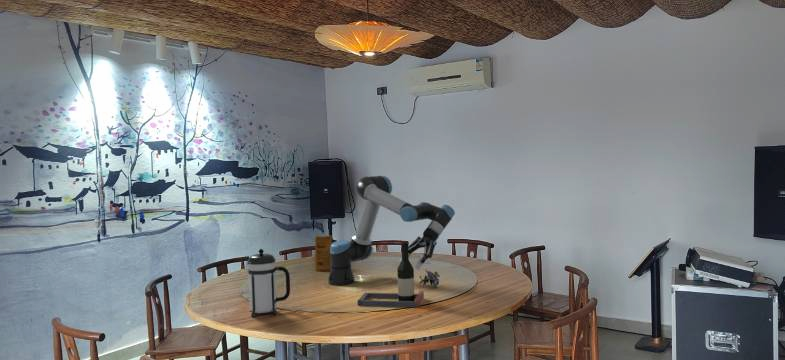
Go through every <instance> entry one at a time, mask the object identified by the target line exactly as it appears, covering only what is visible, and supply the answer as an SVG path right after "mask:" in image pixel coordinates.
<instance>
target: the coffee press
mask: <svg viewBox="0 0 785 360" xmlns="http://www.w3.org/2000/svg"><path fill="white" fill-rule="evenodd" d="M264 252H265V251H264V249H263V248H260V249H259V250H258V253H256V254H253V255H250V256H249V257H248V259H247V260H246V263H245V265H244V267H243V268H247V274H248V292H249V293H248V294H249V297H248V298H249V311H250V312H251V314H250V316H251V317H252V318H256V316H257V314H265V313H267V314H268V313H270V314H272V316H275V315H277V313H278V312H277V310H276V308H277V302H283V301H285V300H287V299H288V298H289V296H290V294H291V282H290V281H291V277H290V272H289V270H288V269H287V268H286V267H285V266H276V262H277V261H276V258H275V255H273V254H270V253H264ZM277 271H281V272H283V273H284V275H285V288H286V289H285V294H284V295H283V296H279V297H277V290H276V289H277V288H276V286H277V284H276V272H277Z"/></svg>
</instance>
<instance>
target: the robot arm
mask: <svg viewBox="0 0 785 360" xmlns="http://www.w3.org/2000/svg"><path fill="white" fill-rule="evenodd" d="M355 190H356V193H357V195H358V196H359V197H360V198H362V199H364V200H365V202H364V206H363V209H362V213H361V215H360V219H359V222H358V225H357V229H356V232H355V234H353V235H352V237H351V240H348V239H342V240H337V241H334V242H332V244H331V246H330V257H331V270H329V271H330V272H329V275H328V278H327V283H328V284H329V285H333V286H347V285H352V284H353V283H355V281H356V279H355V275H354V273H353V270H352V269H353V268H352V263H355V262H358V261H363V260H368V259H369V258H370V257H371V256H372V254H373V244H372V240H371V235H372V232H373V229H374V225H375V222H376V220H377V217H378V213H379V211H380V206H381V207H383V208H385V209H387V210H389V211H391V212H393V213H395V214H396V215H398V216H400V218H401V219H402V221H403V222H409V223H410V222H411V223H412V222H416V221H422V220H431V222H429V224H428V226H427V227H426V228H425V229H424V231H423V232H422V237H421V236H417V237H416V238H415V240H414V241H412V242H411V243H410V244H408V254H409V258H410V257H411V254H413V253H414V252H415V251H417V250H419V249H421V248H422V249H423V248H424V249H423V254H422V255H421V256H420V258H419V259H418V261H417V262H416V263H415V264H414V268H416V269H417V270H418V271H419V270H420V269H421V267H422V266H423V264H425V262H426V261H427V259H432V257H433V254H434V250H435V248H436V246H437V244H438V242H437V240H438V239H439V236H441V234H442V233H443V231H444V230H445V228H446V227H447V226H448V225H449V224H450V221H452V220H453V217H454V216H455V214H456V212H455V210H454V209H453V207H451V206H450V205H448V204H442V206H441V207H439V206H437V205H433V204H432V203H429V202H425V201H421V202H420V203H418V205H413V204H411V203H410V202H407V201H405V200H404V199H400V198H398V197H397V196H395V195H393V194H392V191H393V185H392V182H391V180H390V179H389V177H387V176H386V175H376V176H364V177H362V178H360V179H359V180H357V182H356V185H355ZM401 261H402V257H401V258H400V260H399V261H398V262H399V264H400V263H401Z"/></svg>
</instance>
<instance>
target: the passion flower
mask: <svg viewBox="0 0 785 360" xmlns="http://www.w3.org/2000/svg"><path fill="white" fill-rule="evenodd" d="M425 272H426V274H425V275H424V279H423V278H422V276H421V275H420V276H419V279H420V280H421V281H419V285H420V284H422V287H424V286H425V285H426V283H427V284H430V286H432V285H433V287H434V288H435V289H439V285H440V284H439V283H440V279H439V278H440V277H441V276H440V274H439V273H438V272H437V271H434V272H433V271H431V270H427V269H425Z"/></svg>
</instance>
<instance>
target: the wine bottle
mask: <svg viewBox="0 0 785 360" xmlns="http://www.w3.org/2000/svg"><path fill="white" fill-rule="evenodd" d="M408 246H409V242H408V240H402V242H401V258H402V261H401V263H400V262H399V264H398V266H397V272H396V273H397V293H398V299H397V301H415V298H414V294H415V272H414V271H415V270H414V268H415V267H413V265H412V263H411V261H410V260H409V258H410V257H409V254H408Z"/></svg>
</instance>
